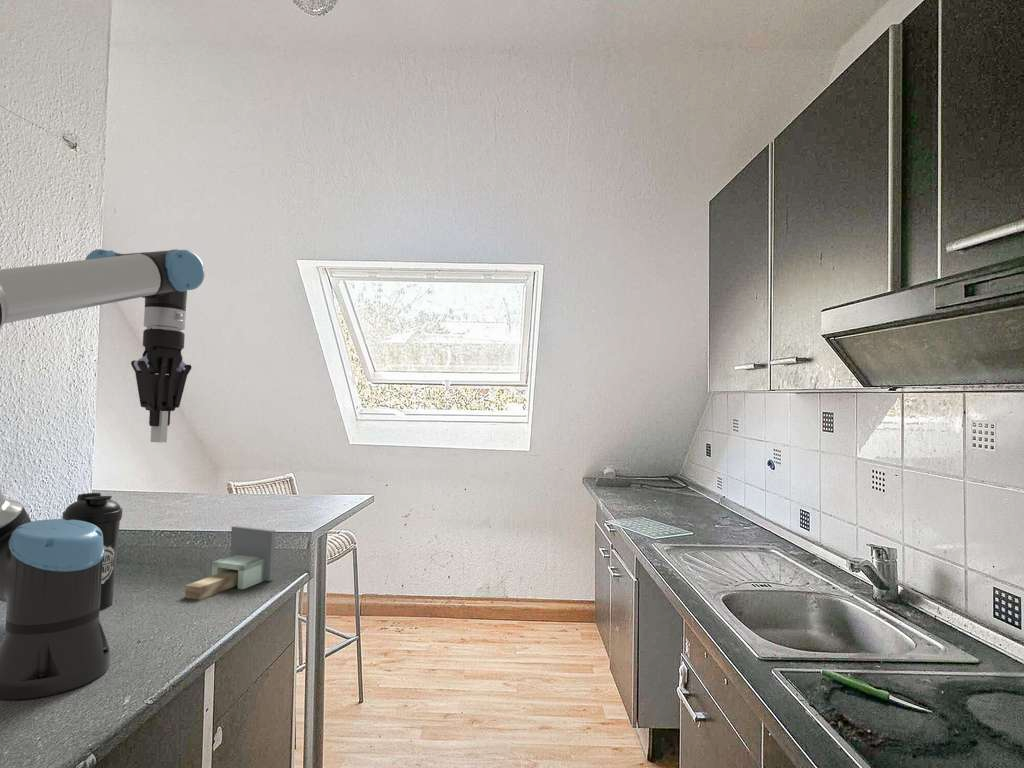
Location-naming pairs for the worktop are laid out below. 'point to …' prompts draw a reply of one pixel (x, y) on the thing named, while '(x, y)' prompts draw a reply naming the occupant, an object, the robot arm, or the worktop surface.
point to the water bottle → (108, 520)
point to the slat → (212, 585)
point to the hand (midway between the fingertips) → (158, 441)
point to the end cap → (249, 556)
